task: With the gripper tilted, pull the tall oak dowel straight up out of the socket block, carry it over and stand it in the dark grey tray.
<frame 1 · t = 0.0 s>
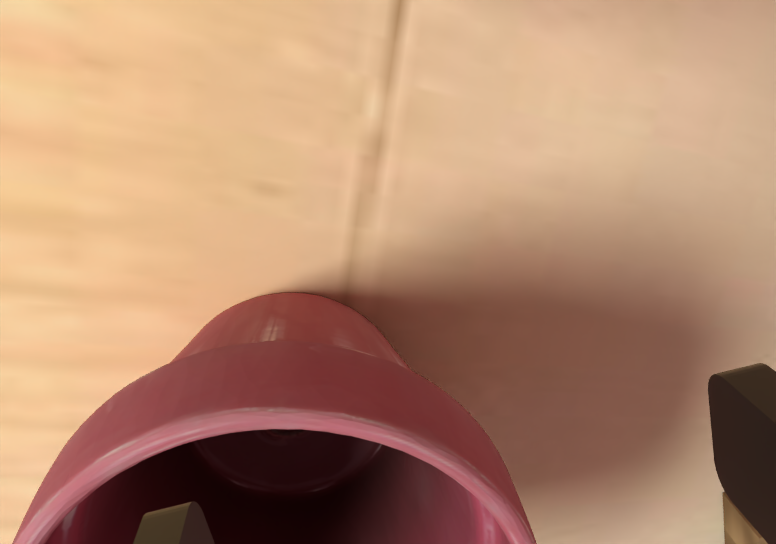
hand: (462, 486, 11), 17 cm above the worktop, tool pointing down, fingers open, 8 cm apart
plant pot: (289, 387, 30), on the worktop
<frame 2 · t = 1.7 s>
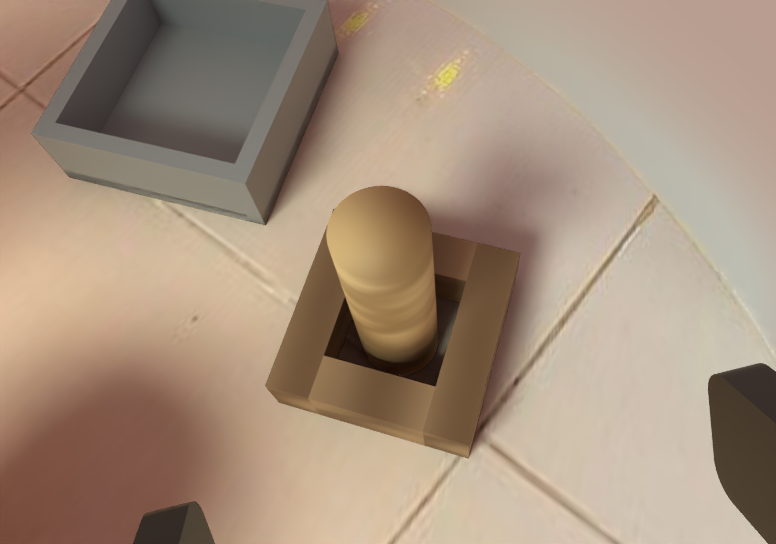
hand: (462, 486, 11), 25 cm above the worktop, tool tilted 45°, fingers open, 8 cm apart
socket block: (400, 338, 39), on the worktop
tray: (207, 113, 46), on the worktop
dowel: (400, 338, 39), resting in socket block
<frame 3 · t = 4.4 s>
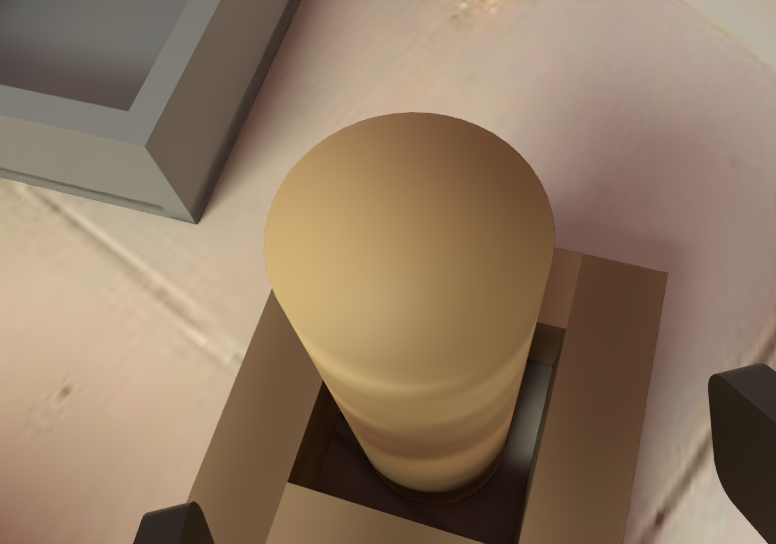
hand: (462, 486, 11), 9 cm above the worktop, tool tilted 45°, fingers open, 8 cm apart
socket block: (434, 431, 21), on the worktop
tray: (111, 44, 28), on the worktop
dowel: (434, 431, 21), resting in socket block
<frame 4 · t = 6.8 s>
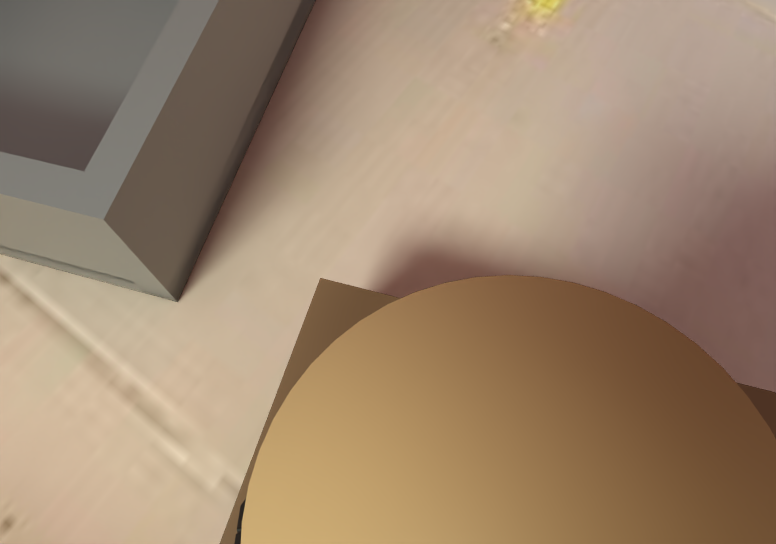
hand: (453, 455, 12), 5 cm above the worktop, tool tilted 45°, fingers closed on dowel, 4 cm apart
tray: (79, 72, 24), on the worktop
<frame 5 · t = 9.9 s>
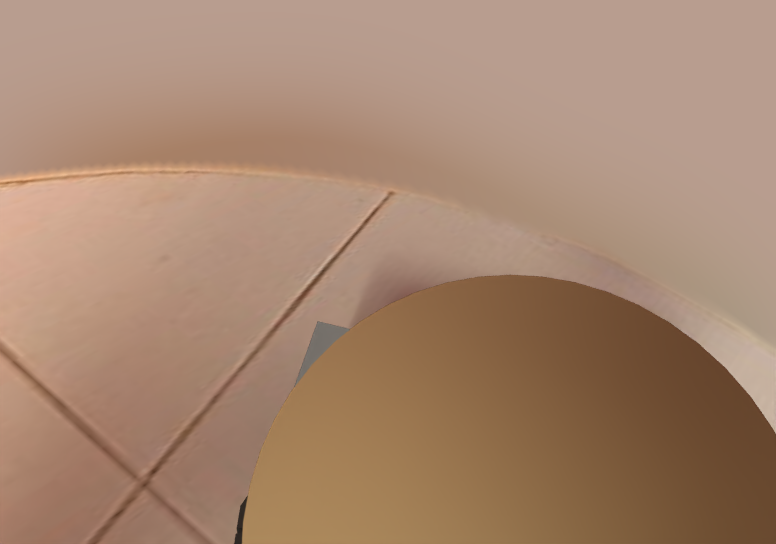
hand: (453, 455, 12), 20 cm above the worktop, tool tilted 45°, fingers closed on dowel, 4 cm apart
tray: (435, 541, 30), on the worktop
when the fingers open (7 cm above the worktop, at t = 13.3 s): dowel drops 1 cm, resting on tray.
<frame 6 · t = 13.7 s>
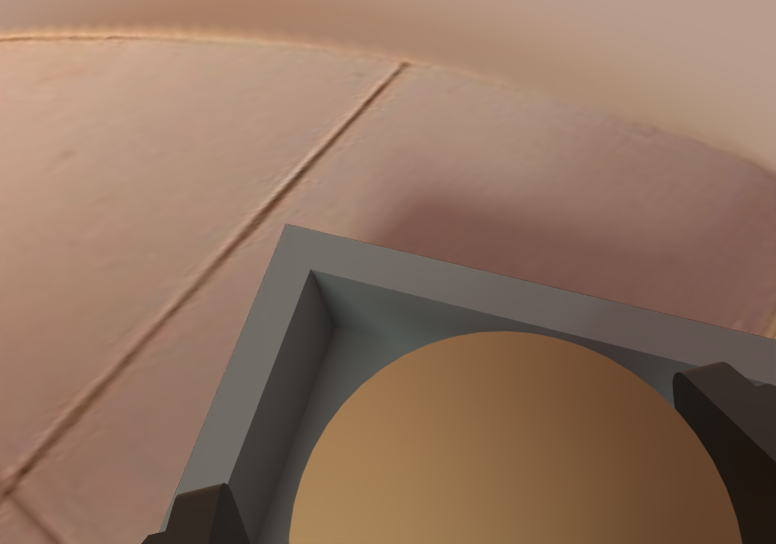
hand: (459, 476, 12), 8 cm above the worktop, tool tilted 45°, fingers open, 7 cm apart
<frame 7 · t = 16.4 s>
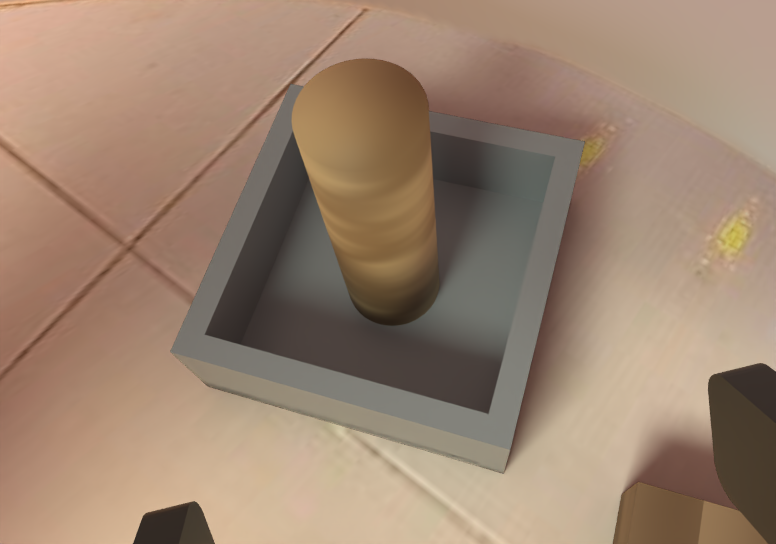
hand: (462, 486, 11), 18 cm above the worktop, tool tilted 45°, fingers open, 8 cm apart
tray: (395, 289, 33), on the worktop
dowel: (393, 282, 32), point 1 cm above the worktop, touching tray
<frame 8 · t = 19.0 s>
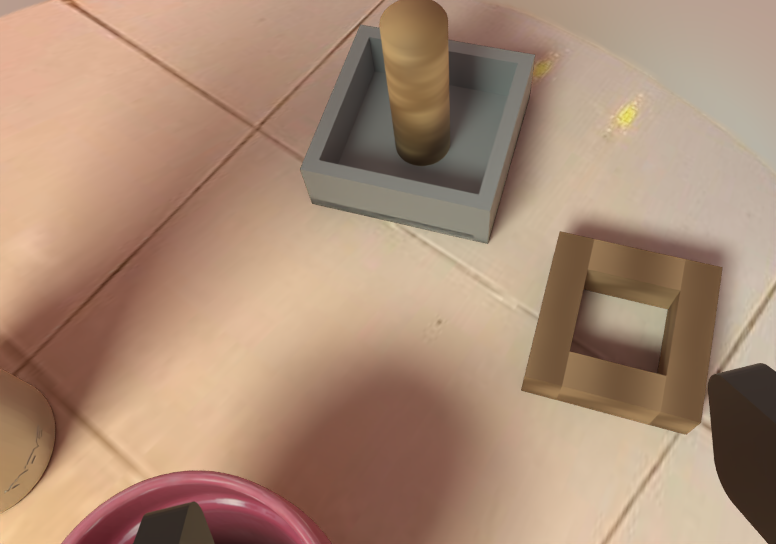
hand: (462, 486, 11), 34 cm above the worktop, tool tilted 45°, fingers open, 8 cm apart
socket block: (616, 337, 47), on the worktop
tray: (423, 148, 54), on the worktop
dowel: (422, 143, 54), point 1 cm above the worktop, touching tray
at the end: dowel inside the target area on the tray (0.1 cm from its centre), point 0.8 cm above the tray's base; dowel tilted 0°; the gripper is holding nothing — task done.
